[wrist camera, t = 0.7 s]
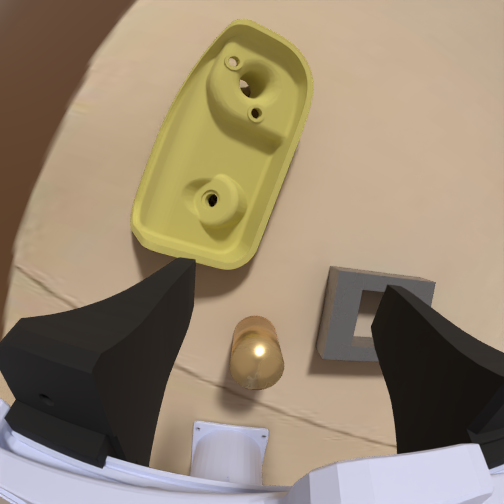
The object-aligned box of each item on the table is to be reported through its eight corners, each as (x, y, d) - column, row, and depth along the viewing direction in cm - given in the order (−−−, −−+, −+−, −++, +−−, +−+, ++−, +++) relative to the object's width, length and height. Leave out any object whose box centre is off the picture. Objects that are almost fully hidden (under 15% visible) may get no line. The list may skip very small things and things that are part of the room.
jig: (404, 351, 30) (416, 361, 27) (315, 347, 30) (322, 359, 27) (420, 277, 29) (435, 282, 26) (330, 265, 29) (339, 270, 26)
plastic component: (247, 275, 27) (129, 244, 22) (219, 250, 33) (126, 223, 29) (327, 64, 24) (227, 8, 19) (286, 77, 30) (202, 36, 26)
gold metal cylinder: (272, 357, 30) (279, 392, 23) (231, 352, 30) (227, 386, 23) (279, 318, 30) (288, 345, 23) (236, 313, 29) (233, 339, 22)
